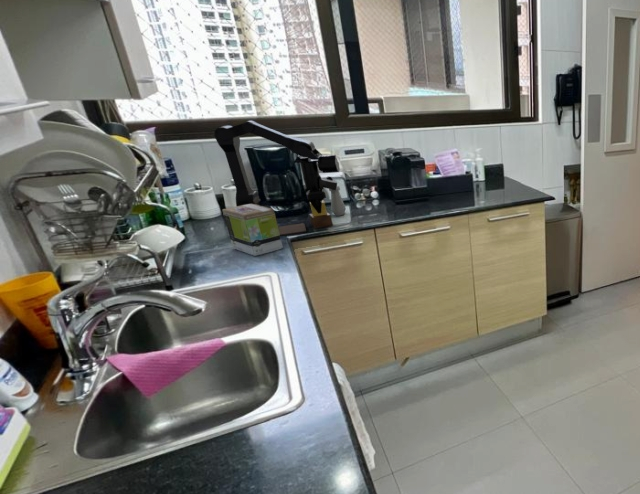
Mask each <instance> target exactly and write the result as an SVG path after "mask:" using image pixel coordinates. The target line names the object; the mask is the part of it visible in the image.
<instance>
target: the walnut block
mask: <svg viewBox="0 0 640 494" xmlns="http://www.w3.org/2000/svg"><path fill="white" fill-rule="evenodd" d="M308 216H309V220H310V221H309V222H310V225H311V226H312V227H313V228H314V229H319V228H325V227H331V226H333V220H332V215H331V214H330V213H329V212H328V211H327V215H320V216H313V214H312V213H308Z"/></svg>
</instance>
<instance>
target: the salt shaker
mask: <svg viewBox="0 0 640 494" xmlns="http://www.w3.org/2000/svg"><path fill="white" fill-rule="evenodd" d="M340 190H341V187H340V185H338V184H337V187H336V190H332V189H328V191H329V192H330V211H331V213H332V214H333V215H334V216H340V217H341V216H344V215H345V213H346V209H347V208H346V205H345V203H344V200H343V198H342V195H341V192H340Z"/></svg>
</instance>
